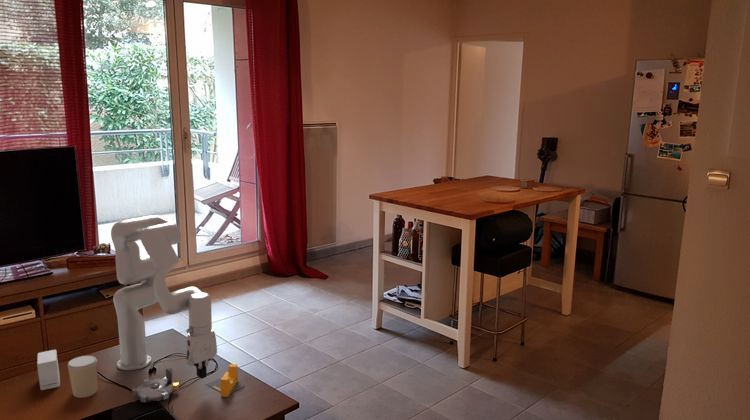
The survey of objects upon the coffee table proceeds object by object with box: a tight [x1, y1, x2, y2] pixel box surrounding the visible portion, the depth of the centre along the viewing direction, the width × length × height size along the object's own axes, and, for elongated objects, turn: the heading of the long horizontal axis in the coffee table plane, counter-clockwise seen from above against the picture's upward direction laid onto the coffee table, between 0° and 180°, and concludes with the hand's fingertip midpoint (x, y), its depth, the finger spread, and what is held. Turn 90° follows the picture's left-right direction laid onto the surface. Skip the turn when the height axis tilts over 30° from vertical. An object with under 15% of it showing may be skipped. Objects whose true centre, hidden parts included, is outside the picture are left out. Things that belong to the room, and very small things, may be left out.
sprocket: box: [131, 367, 180, 403], centre depth 205 cm, size 15×14×7 cm
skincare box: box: [36, 349, 61, 391], centre depth 213 cm, size 10×6×10 cm, turn 29°
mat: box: [205, 377, 245, 394], centre depth 213 cm, size 12×8×1 cm, turn 51°
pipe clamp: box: [220, 363, 239, 398], centre depth 211 cm, size 12×4×6 cm, turn 177°
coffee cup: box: [67, 355, 98, 398], centre depth 206 cm, size 9×9×12 cm
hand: (201, 376), depth 206 cm, fingers closed
